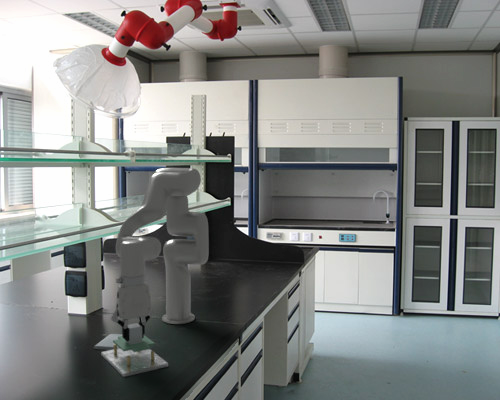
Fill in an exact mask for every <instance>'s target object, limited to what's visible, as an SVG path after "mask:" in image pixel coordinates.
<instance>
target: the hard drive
mask: <svg viewBox="0 0 500 400" xmlns="http://www.w3.org/2000/svg"><path fill="white" fill-rule="evenodd" d="M119 336H122V333H121V334H120V333H109V334H108V335H107V336H105V338H103V339H102V340H100V341H99V342H98V343H96V344H95V345H93V349H94V350H104V351H109V350H113V349H114V344H115V343H113V340H118V337H119ZM118 348H119V347H118V346H117V349H118Z"/></svg>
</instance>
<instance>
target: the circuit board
mask: <svg viewBox="0 0 500 400" xmlns="http://www.w3.org/2000/svg"><path fill="white" fill-rule="evenodd" d="M138 323H139V322H137V323H130V324H128V328H129V341H126V340H125V339H124V338H123V337H122V336H119V337H118V340H113V343H115V344H116V345H117V346H118V347H119V348H120V349H121V350H123V351H128V350H132V351H133V352H138V351H142V350H147V349H150V350H152V349H151V348H152V347H151V346H155V345H156V342H154V341H153V340H151V339H150V338H149V337H148V336H146V335H145V334H144V338H142V326H141V325H139V324H138Z"/></svg>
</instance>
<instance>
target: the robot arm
mask: <svg viewBox="0 0 500 400" xmlns="http://www.w3.org/2000/svg"><path fill="white" fill-rule="evenodd" d="M201 177H202V176H201V173H200V172H199V170H198V169H197V168H193V167H162V168H158V169H156V170H155V171H154V173H153V174H152V175H151V176H150V177H149V180H148V183H147V187H146V190H145V194H144V196H143V199H142V202H141V206H140V208H138V209H136V210H135V211H134V212H132V214H130V215H129V216H128V217H127V218H125V220H124V221H123V223H122V225H121V226H120V229H119V232H118V235H117V237H116V241H115V253H116V255H117V257H118V258H119V263H120V264H119V269H120V270H119V273H120V274H119V277H118V278H116V279H115V283H116V284H119V285H118V286H117V293H116V300H115V311H114V312H113V313H112V316H111V317H110V320H111V321H112V322H113V323H116V324H117V325H119V326H120V327H121V331H122V332H121V334H122V337H123V338H124V339H125V340H126V341H129V328H128V325H129V321H130V320H134V319H138V321H139V322H137V323H138V324H139V325H141V326H142V338H144V335H145V334H146V333H145V326H146V325H147V323H148V321H149V320H150V318H152V317H153V316H154V315H155V314H156V311H155V310H154V309H153V307H152V299H151V291H150V286H149V283H147V282H146V262H149V261H153V260H156V259H157V258H158V257H159V255H160V254H161V252H162V255H163V259H164V265H165V266H164V267H165V308H164V309H165V314H164V315H162V317H161V320H162V322H164V323H166V324H170V325H171V324H172V325H182V324H187V323H188V324H189V323H191V322H193V321H195V317H196V316H195V315H194V314H193V313H192V312H191V309H192V305H191V304H192V303H191V300H192V297H191V292H192V291H191V290H192V289H191V287H192V286H191V282H192V281H191V273H190V272H191V271H190V270H189V268H188V267H187V265H195V266H197V265H198V266H200V265H205V264H206V263H207V262H208V260H209V253H210V252H209V250H210V248H209V246H210V244H209V243H210V241H209V222H208V221H209V220H208V217H207V215H206V214H205V213H204V212H201V211H190V209H189V197H188V196H190V195H191V194H193V193H195V192H196V191H197V190H198V189H199V188H200V186H201V183H202V182H201V181H202V178H201ZM164 217H166V218H165V220H166V221H165V222H166V230H167V233H168V234H169V235H170V236H173V237H174V236H175V237H188V238H190V237H191V238H194V239H185V238H174V239H169V240H167V241H165V243H164V244H163V249H162V243H161V241H160V240H159V239H158V238H157V237H154V236H145V235H144V236H143V235H134V234H135V233H136V232H137V231H138V230H139V229H141V228H142V227H144V226H147V225H149V224H150V225H151V224H152V223H155V222H157V221H159V220H161V219H163V218H164ZM118 317H119V318H118Z"/></svg>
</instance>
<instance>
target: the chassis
mask: <svg viewBox="0 0 500 400" xmlns="http://www.w3.org/2000/svg"><path fill="white" fill-rule="evenodd" d="M100 354H101V356H102V357H103V358H104V359H105V360H106V361H107V362H108V364H110V365H111V366H112V367H113V368H114V369H115V370H116V371H117V372H118V373H119V375H121V376H122V377H123V378H125V377H129V376H134V375H138V374H142V373H146V372H151V371H155V370H158V369H162V368H167V367H169V362H167V361H166V360H164V358H162V357H161V356H159V355H158V354H157V353H156V352H155V350H152V349H147V350H142V351H138V352H133V351H132V350H128V351H123V350H121V349H120V348H118V349H117V345H116V344H114V349H113V350H104V351H101V353H100Z"/></svg>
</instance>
